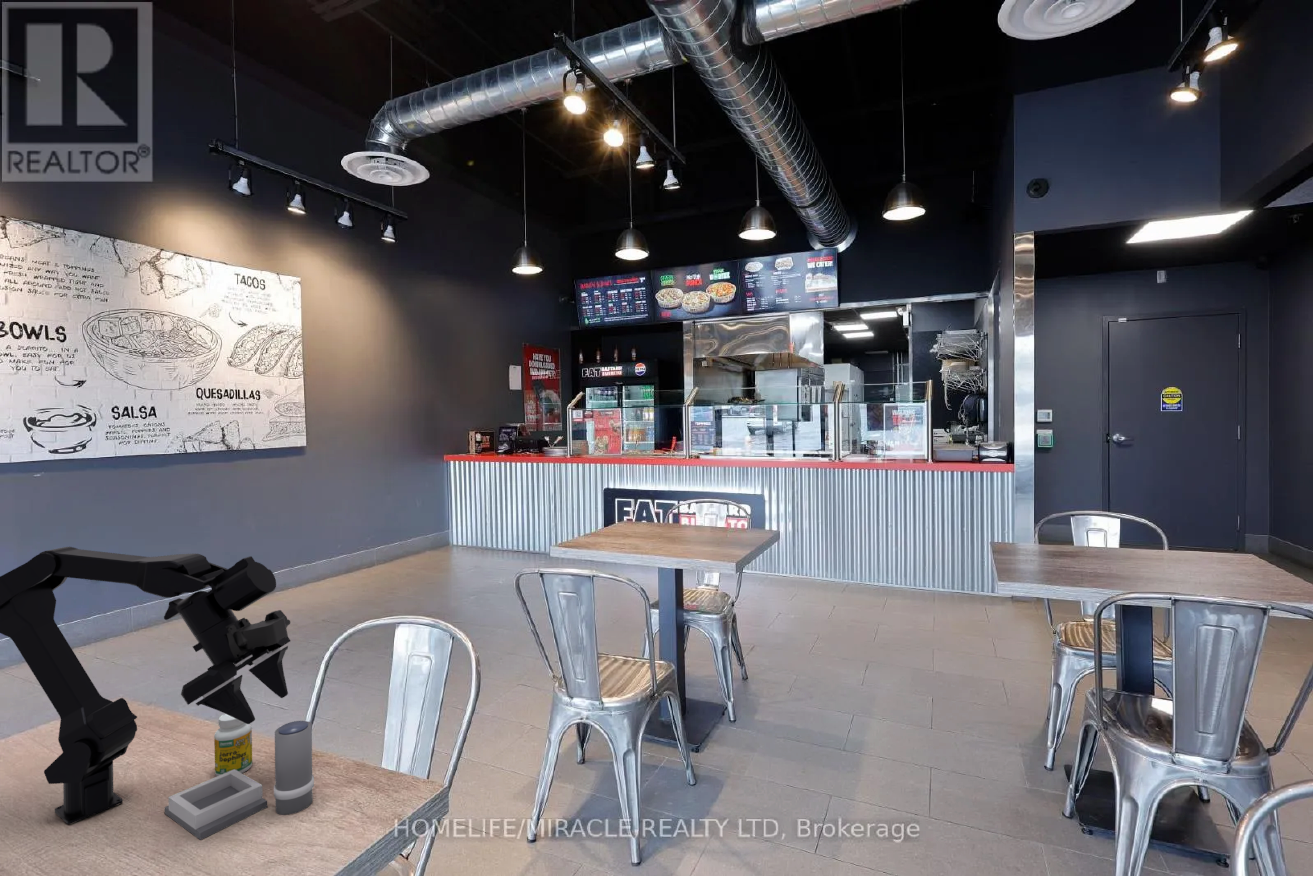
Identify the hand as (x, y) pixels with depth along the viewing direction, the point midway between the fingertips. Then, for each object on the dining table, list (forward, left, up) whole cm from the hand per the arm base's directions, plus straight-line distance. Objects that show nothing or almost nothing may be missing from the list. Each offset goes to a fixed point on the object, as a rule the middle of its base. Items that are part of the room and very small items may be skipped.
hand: (269, 708), depth 97 cm
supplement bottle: (-15, +1, -15) cm, 21 cm away
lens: (+5, +1, -14) cm, 15 cm away
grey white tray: (-4, -6, -14) cm, 16 cm away
